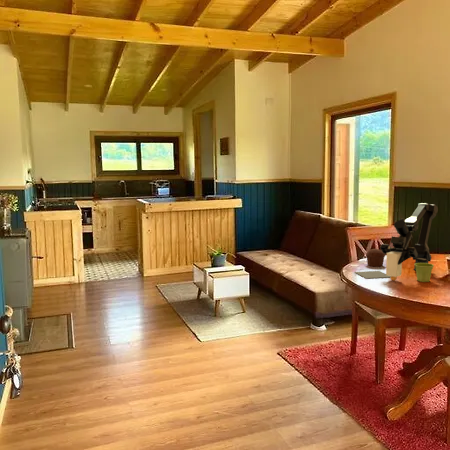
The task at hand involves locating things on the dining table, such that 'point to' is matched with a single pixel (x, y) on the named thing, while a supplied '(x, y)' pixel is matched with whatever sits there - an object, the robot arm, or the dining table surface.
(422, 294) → the dining table surface
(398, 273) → the tall cream pillar
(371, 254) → the muffin
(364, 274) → the mat
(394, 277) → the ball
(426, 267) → the plant pot
